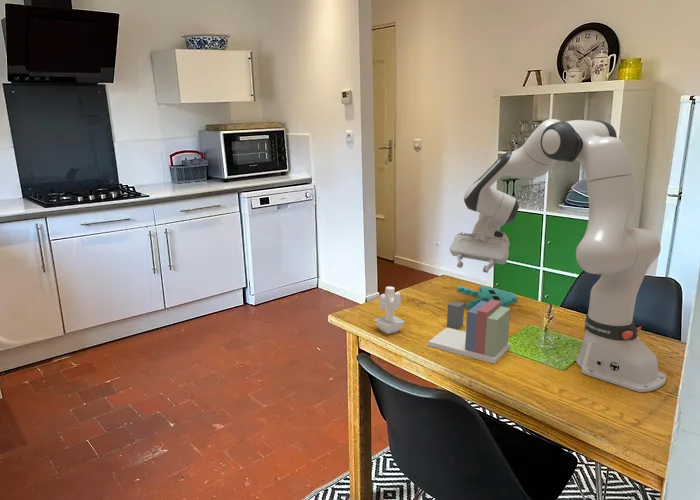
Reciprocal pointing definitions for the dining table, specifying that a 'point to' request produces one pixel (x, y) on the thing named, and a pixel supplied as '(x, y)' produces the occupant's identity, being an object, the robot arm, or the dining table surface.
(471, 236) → the robot arm
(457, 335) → the shelf board
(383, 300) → the figurine
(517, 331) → the dining table surface
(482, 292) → the alien figure
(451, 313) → the bookend block
